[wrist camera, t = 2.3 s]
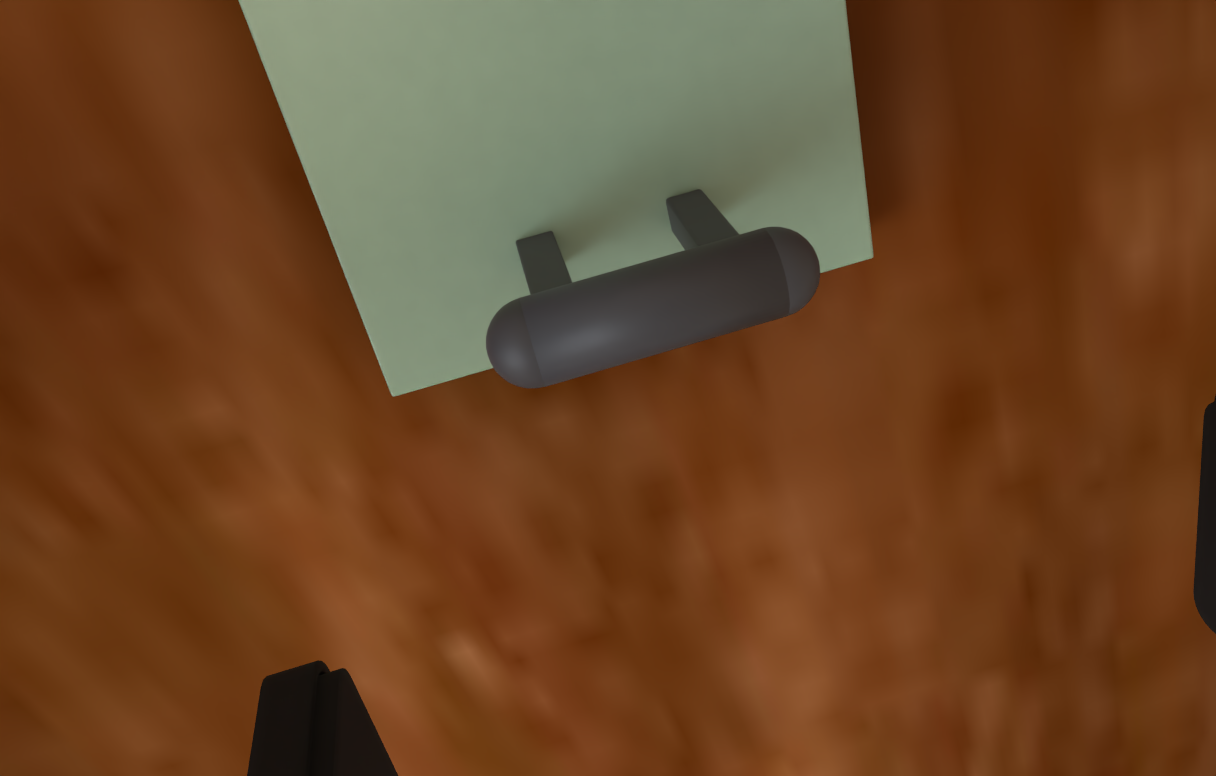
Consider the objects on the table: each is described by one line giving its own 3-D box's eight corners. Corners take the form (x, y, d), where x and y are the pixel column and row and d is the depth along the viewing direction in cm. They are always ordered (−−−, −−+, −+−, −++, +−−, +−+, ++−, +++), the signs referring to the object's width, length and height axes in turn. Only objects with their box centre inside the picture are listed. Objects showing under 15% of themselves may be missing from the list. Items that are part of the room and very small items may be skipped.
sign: (135, -296, 17) (25, -350, 12) (772, -460, 18) (925, -578, 13) (392, 375, 24) (390, 526, 18) (856, 241, 24) (979, 352, 19)
